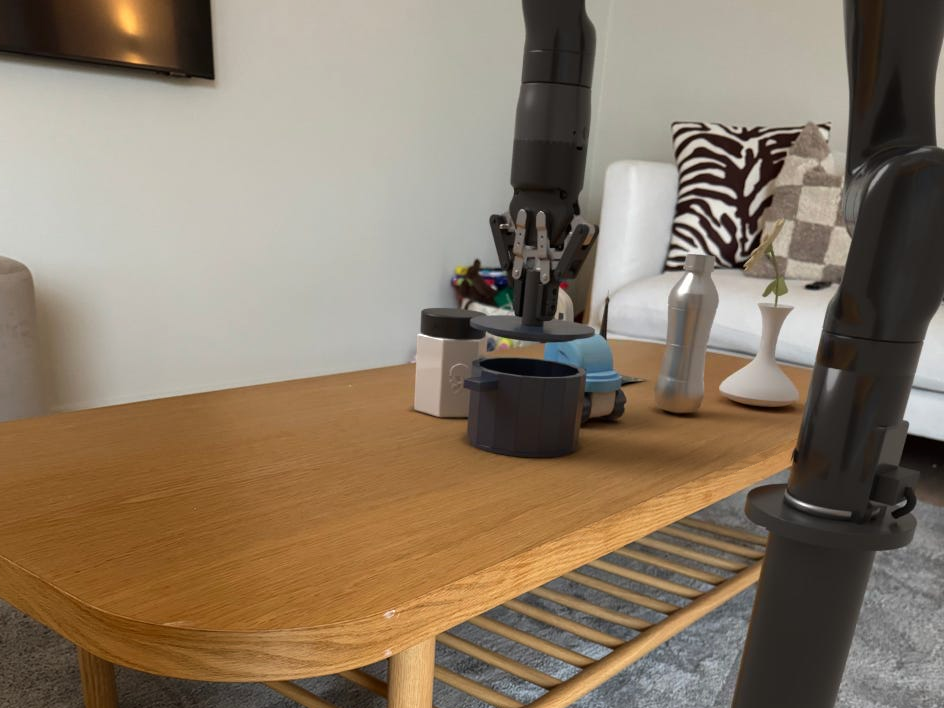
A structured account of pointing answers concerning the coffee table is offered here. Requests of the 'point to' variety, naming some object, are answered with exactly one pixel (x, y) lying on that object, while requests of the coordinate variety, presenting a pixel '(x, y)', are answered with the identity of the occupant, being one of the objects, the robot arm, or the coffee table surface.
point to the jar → (446, 361)
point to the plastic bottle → (687, 337)
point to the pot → (525, 406)
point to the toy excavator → (589, 367)
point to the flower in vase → (765, 346)
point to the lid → (531, 321)
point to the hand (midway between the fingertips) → (533, 317)
